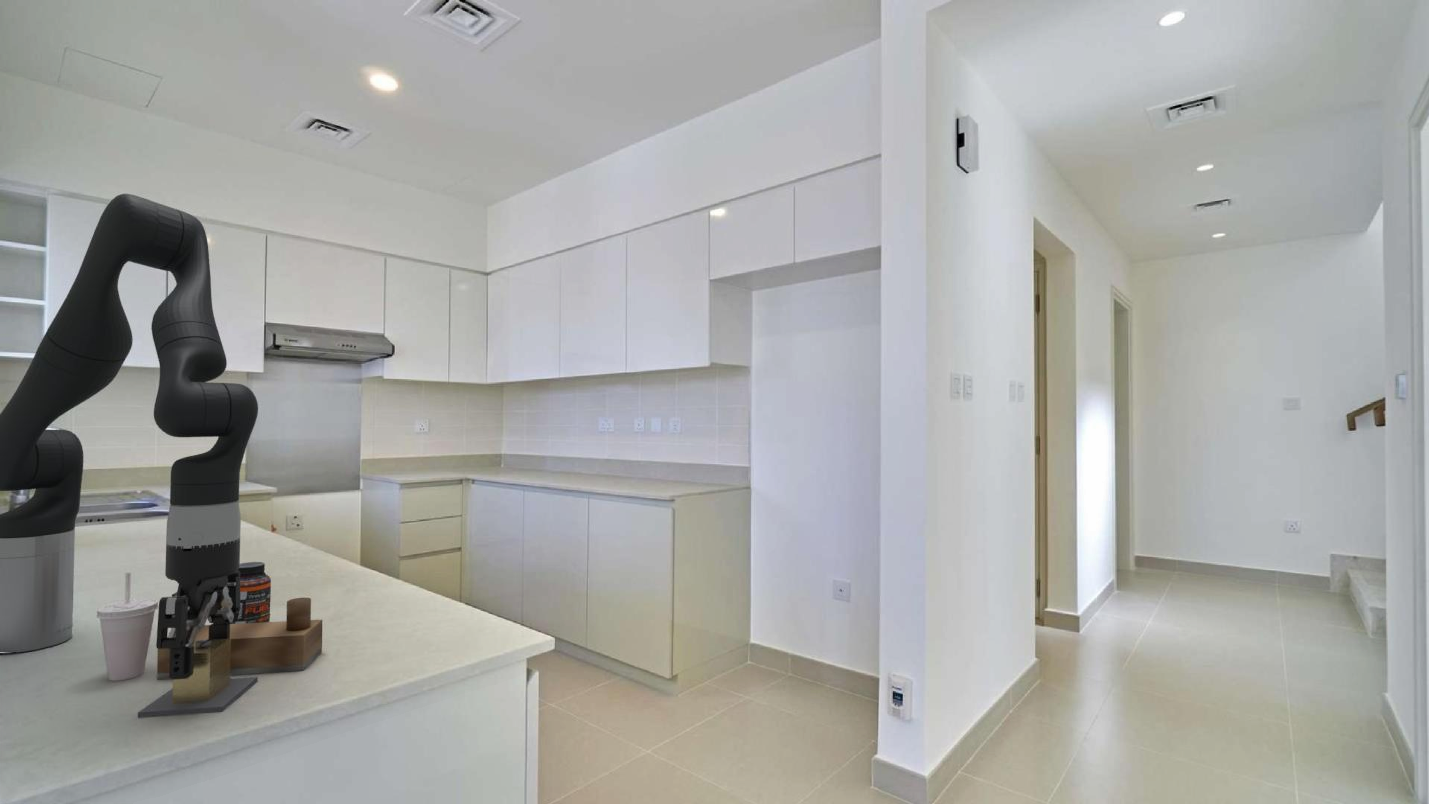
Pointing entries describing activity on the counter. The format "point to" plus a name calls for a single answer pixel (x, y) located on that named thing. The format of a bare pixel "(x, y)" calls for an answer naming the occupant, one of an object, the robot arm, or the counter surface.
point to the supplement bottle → (253, 594)
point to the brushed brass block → (205, 672)
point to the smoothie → (126, 634)
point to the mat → (216, 704)
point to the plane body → (266, 643)
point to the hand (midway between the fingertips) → (200, 664)
